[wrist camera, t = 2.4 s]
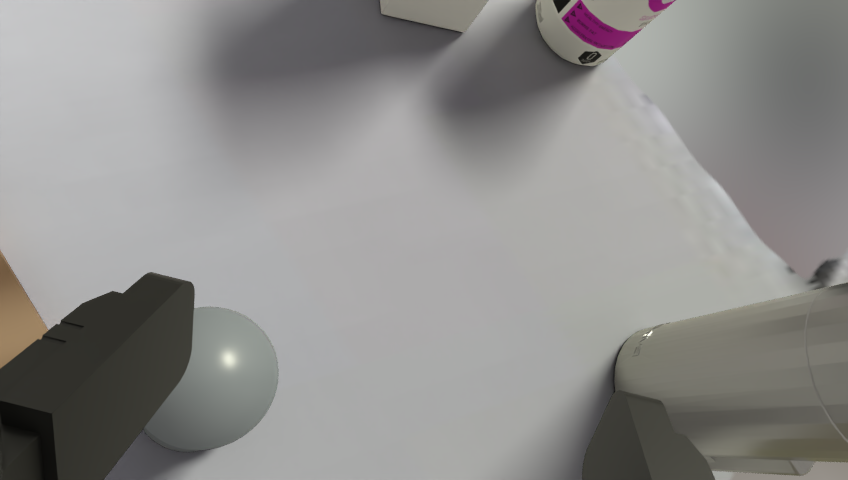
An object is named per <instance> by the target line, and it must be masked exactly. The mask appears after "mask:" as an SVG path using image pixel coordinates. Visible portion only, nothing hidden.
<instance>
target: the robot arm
mask: <svg viewBox="0 0 848 480" xmlns="http://www.w3.org/2000/svg"><path fill="white" fill-rule="evenodd" d="M193 315H194V286H193V284H192V283H191V282H189V281H185V280H181V279H177V278H173V277H169V276H165V275H161V274H157V273H153V272H150V273H147V274H145V275H144V276H143V277H142V278H140V279H139V280H138V281H137V282H136V283H135V284H133V285H132V286H131V287H130V288H129V289H128V290H126V291H125V292H124V293H123V294H122V293H118V292H114V291H112V292H109V293H107V294H104V295H102V296H99V297H97V298H94V299H92V300H89V301H87V302H85V303H82V304H81V305H80V306H79V307H77V308H76V309H75V310H74V311H72V312H71V313H70V314H69V315H67V316H66V317H65V318H64V319H62V320H61V323H60V324H59V325H58V324H56V325H55V326H53V327H52V328H51V329H50V330H48V331H47V332H46V333H45V334H43V336H42V339H41V340H40V339H37V340H36V341H35V342H33V343H32V344H31V345H30V346H28V347H27V348H26V349H24V350H23V351H22V352H21V353H19V354H18V355H17V356H16V357H14V358H13V359H12V360H11V361H9V362H8V363H7V364H6V365H4V366H3V367H2V368H1V369H0V480H104V479H105V477H106V476H107V475H108V473H109V472H110V471H111V470H112V468H113V467H114V466H115V464H116V463H117V462H118V460H119V459H120V458H121V457H122V455H123V454H124V453H125V451H126V450H127V449H128V448H129V446H130V445H131V444H132V442H133V441H134V440H135V439H136V437H137V436H138V435H139V433H140V432H141V431H142V430H143V428H144V427H145V426H146V424H147V423H148V422H149V421H150V419H151V418H152V417H153V415H154V414H155V413H156V412H157V410H158V409H159V408H160V406H161V405H162V404H163V403H164V401H165V400H166V399H167V397H168V396H169V395H170V394H171V392H172V391H173V390H174V388H175V387H176V386H177V385H178V383H179V382H180V380H181V379H182V377H183V375H184V373H185V371H186V369H187V366H188V364H189V360H190V356H191V351H192V336H193ZM614 382H615V391H616V392H615V393H614V394H613V396H612V397H611V399H610V401H609V403H608V405H607V408H606V410H605V412H604V414H603V416H602V418H601V420H600V423H599V425H598V427H597V429H596V431H595V433H594V435H593V438H592V440H591V442H590V444H589V446H588V448H587V451H586V454H585V458H584V463H583V471H582V480H715V478H714V476H713V473H712V471H726V472H743V473H760V474H777V475H794V476H801V475H805V474H807V473H808V472H809V471H810V470H811V468H812V467H813V465H814V463H815V462H816V461H818V462H848V282H847V283H843V284H839V285H834V286H831V287H826V288H822V289H817V290H813V291H809V292H804V293H800V294H795V295H791V296H787V297H782V298H778V299H774V300H769V301H765V302H760V303H756V304H752V305H747V306H743V307H739V308H734V309H730V310H725V311H721V312H717V313H712V314H708V315H703V316H699V317H695V318H690V319H686V320H682V321H677V322H673V323H666V324H661V325H658V326H655V327H651V328H647V329H644V330H641V331H638V332H636V333H635V334H634V335H632V336H631V337H629V339H628V340H627V341H626V342H625V344H624V345H623V346H622V349H621V351H620V353H619V355H618V358H617V362H616V366H615V379H614Z"/></svg>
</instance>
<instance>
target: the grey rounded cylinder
mask: <svg viewBox="0 0 848 480" xmlns="http://www.w3.org/2000/svg"><path fill="white" fill-rule="evenodd" d="M277 384H278V362H277V357H276V353H275V350H274V348H273V345H272V343H271V342H270V340H269V338H268V337H267V335H266V334H265V332H264V331H263V330H262V329H261V328H260V327H259V326H258V325H257V324H256V323H255V322H253V321H252V320H251V319H249V318H248V317H246V316H244V315H242V314H240V313H238V312H236V311H232V310H229V309H225V308H219V307H200V308H194V315H193V336H192V351H191V356H190V360H189V364H188V366H187V369H186V371H185V373H184V375H183V377H182V379H181V380H180V382H179V383H178V385H177V386H176V387H175V388H174V390H173V391H172V392H171V394H170V395H169V396H168V397H167V399H166V400H165V401H164V403H163V404H162V405H161V406H160V408H159V409H158V410H157V412H156V413H155V414H154V415H153V417H152V418H151V419H150V421H149V422H148V423H147V424H146V426H145V427H144V428H143V430H144V431H145V432H146V434H147V435H148V436H149V437H150V438H151V439H152V440H153V441H155V442H156V443H157V444H159V445H161V446H163V447H165V448H168V449H170V450H175V451H180V452H194V451H200V450H208V449H214V448H218V447H221V446H225V445H227V444H230V443H232V442H234V441H236V440H238V439H239V438H241V437H243V436H244V435H246V434H247V433H248V432H249V431H251V430H252V429H253V428H254V427H255V426H256V425H257V424H258V423H259V422H260V421H261V419H262V418H263V417H264V416H265V414H266V412H267V411H268V409H269V407H270V406H271V403H272V401H273V399H274V396H275V393H276V389H277Z"/></svg>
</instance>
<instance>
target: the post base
mask: <svg viewBox="0 0 848 480" xmlns="http://www.w3.org/2000/svg"><path fill="white" fill-rule="evenodd" d="M47 331H48V329H47V327H46V325H45V324H44V322H43V321H42V319H41V317H40V316H39V314H38V312H37V311H36V309H35V307H34V306H33V304H32V302H31V301H30V299H29V297H28V296H27V294H26V292H25V291H24V289H23V287H22V286H21V284H20V282H19V281H18V279H17V277H16V276H15V274H14V272H13V271H12V269H11V267H10V266H9V264H8V262H7V261H6V259H5V257H4V256H3V254H2V252H1V251H0V369H1V368H2V367H3V366H4V365H6V364H7V363H8V362H9V361H11V360H12V359H13V358H14V357H16V356H17V355H18V354H19V353H21V352H22V351H23V350H24V349H26V348H27V347H28V346H30V345H31V344H32V343H33V342H35V341H36V340H37V339H40V340H41V339H42V336H43V334H45V333H46V332H47Z"/></svg>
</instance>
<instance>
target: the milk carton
mask: <svg viewBox="0 0 848 480" xmlns="http://www.w3.org/2000/svg"><path fill="white" fill-rule="evenodd" d="M487 2H488V0H380V7H381V14H383V15H388V16H392V17H396V18H401V19H405V20H410V21H414V22H419V23H423V24H428V25H432V26H437V27H441V28H446V29H450V30H455V31H460V32H466V30H467V29H468V28H469V26H470V25H471V24H472V22H473V21H474V20H475V18H476V17H477V15H478V14H479V13H480V11H481V10H482V9H483V7H484V6H485V5H486V3H487Z"/></svg>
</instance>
